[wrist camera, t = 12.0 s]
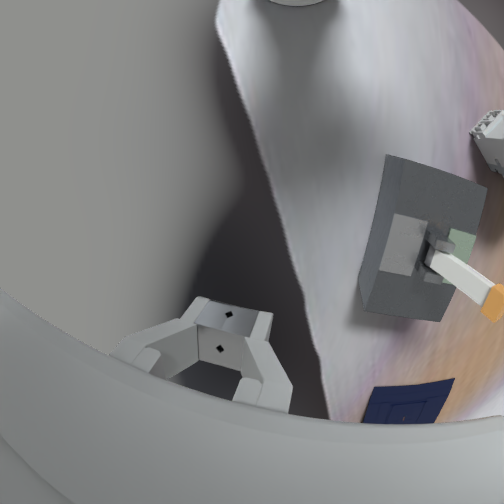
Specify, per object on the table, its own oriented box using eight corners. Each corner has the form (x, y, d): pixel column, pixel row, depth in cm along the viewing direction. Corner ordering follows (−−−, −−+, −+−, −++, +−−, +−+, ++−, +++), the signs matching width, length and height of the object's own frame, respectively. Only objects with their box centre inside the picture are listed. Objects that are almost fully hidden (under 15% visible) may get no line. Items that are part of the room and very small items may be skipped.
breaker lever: (426, 241, 29) (506, 297, 18) (437, 241, 30) (513, 293, 18) (419, 264, 31) (493, 322, 19) (430, 262, 32) (501, 317, 20)
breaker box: (386, 154, 36) (414, 161, 24) (457, 176, 34) (501, 193, 22) (357, 278, 46) (366, 326, 34) (423, 290, 43) (446, 336, 31)
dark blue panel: (353, 442, 66) (353, 450, 62) (372, 379, 58) (373, 389, 54) (421, 435, 59) (422, 443, 56) (452, 371, 51) (456, 380, 48)
